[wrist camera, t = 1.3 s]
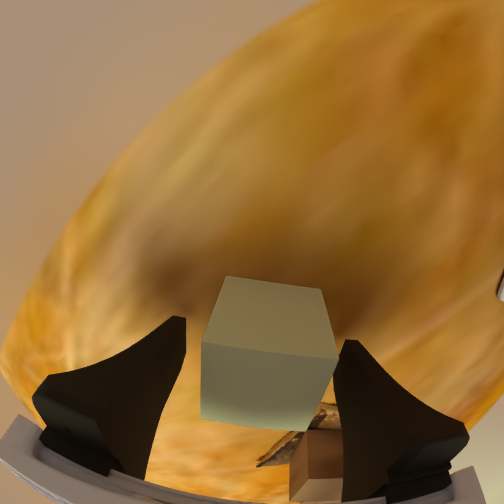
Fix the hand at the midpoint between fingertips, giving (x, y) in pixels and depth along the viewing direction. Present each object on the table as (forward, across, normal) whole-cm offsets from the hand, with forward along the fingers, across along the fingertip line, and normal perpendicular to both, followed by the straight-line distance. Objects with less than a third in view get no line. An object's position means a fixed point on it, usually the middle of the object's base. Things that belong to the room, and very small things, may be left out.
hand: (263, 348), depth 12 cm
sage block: (+2, 0, 0) cm, 2 cm away
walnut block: (+1, -6, +10) cm, 12 cm away
